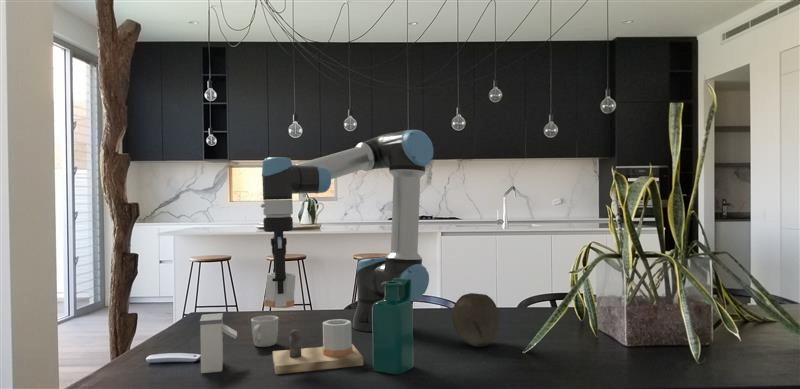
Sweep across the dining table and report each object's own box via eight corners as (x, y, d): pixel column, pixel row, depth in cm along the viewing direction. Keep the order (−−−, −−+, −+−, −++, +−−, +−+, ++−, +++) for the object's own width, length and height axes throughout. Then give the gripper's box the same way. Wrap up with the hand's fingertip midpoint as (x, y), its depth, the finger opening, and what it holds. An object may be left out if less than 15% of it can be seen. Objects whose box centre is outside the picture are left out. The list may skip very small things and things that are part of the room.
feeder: (237, 360, 147) (236, 312, 147) (237, 369, 139) (236, 318, 139) (202, 364, 144) (202, 314, 145) (200, 373, 137) (199, 321, 137)
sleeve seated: (348, 347, 151) (348, 318, 151) (354, 354, 144) (353, 324, 144) (321, 350, 149) (320, 320, 149) (325, 357, 141) (324, 326, 142)
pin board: (352, 351, 154) (352, 319, 154) (363, 365, 141) (362, 330, 141) (272, 358, 148) (272, 325, 148) (275, 374, 135) (275, 337, 135)
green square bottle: (398, 376, 132) (397, 284, 132) (369, 371, 136) (368, 282, 136) (419, 365, 140) (417, 279, 140) (391, 360, 144) (389, 277, 145)
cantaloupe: (510, 344, 159) (509, 292, 159) (482, 355, 148) (481, 299, 148) (470, 336, 168) (469, 287, 168) (441, 346, 158) (440, 294, 158)
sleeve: (292, 302, 149) (294, 273, 149) (294, 308, 141) (296, 276, 141) (263, 302, 147) (266, 272, 147) (264, 307, 139) (266, 275, 140)
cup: (267, 352, 155) (267, 323, 155) (241, 351, 157) (241, 322, 157) (283, 342, 166) (283, 315, 166) (258, 341, 167) (258, 315, 167)
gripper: (262, 215, 153) (264, 297, 153) (263, 217, 133) (266, 312, 133) (290, 214, 155) (292, 295, 155) (295, 216, 135) (297, 309, 135)
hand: (280, 303), depth 144 cm, fingers closed on sleeve, 8 cm apart
